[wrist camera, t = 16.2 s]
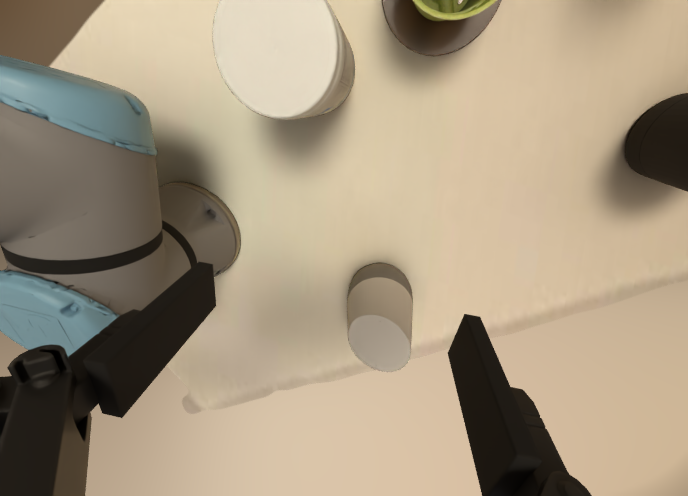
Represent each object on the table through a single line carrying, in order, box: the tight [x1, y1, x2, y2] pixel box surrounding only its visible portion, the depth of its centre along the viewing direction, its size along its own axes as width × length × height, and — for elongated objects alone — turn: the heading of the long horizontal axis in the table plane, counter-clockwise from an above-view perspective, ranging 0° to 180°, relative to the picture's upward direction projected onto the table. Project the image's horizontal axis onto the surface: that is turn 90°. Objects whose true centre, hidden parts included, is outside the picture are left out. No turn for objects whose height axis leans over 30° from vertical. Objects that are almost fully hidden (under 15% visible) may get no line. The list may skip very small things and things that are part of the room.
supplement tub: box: [213, 0, 355, 120], centre depth 27 cm, size 10×10×15 cm
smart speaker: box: [347, 263, 413, 372], centre depth 39 cm, size 10×9×14 cm
